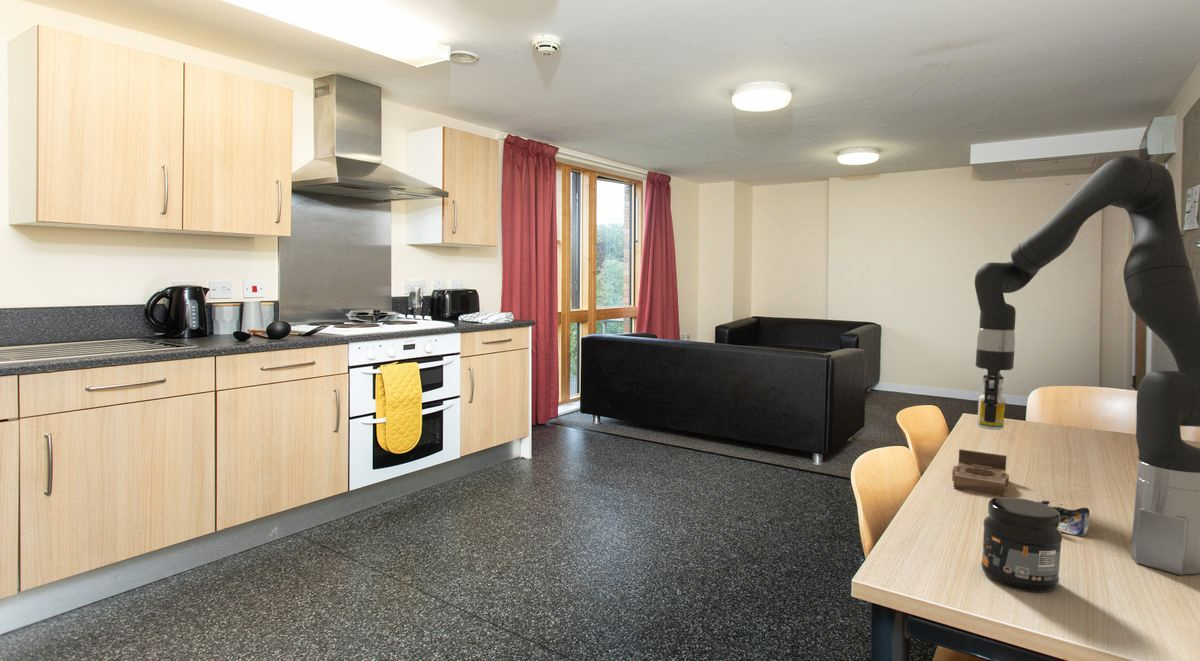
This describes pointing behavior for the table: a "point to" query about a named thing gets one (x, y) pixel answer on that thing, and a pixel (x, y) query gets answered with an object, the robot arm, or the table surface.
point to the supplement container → (1022, 544)
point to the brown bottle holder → (981, 472)
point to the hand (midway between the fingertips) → (990, 419)
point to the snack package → (1073, 519)
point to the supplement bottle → (999, 413)
